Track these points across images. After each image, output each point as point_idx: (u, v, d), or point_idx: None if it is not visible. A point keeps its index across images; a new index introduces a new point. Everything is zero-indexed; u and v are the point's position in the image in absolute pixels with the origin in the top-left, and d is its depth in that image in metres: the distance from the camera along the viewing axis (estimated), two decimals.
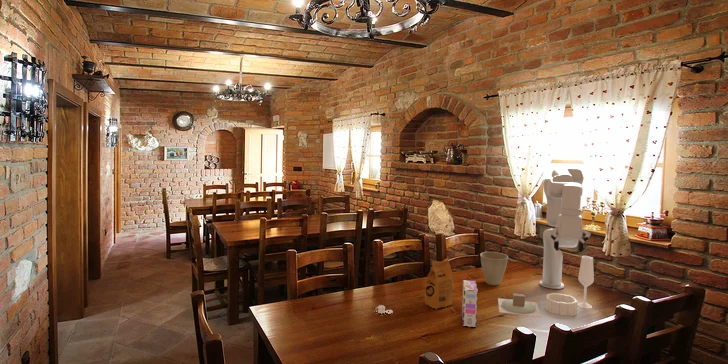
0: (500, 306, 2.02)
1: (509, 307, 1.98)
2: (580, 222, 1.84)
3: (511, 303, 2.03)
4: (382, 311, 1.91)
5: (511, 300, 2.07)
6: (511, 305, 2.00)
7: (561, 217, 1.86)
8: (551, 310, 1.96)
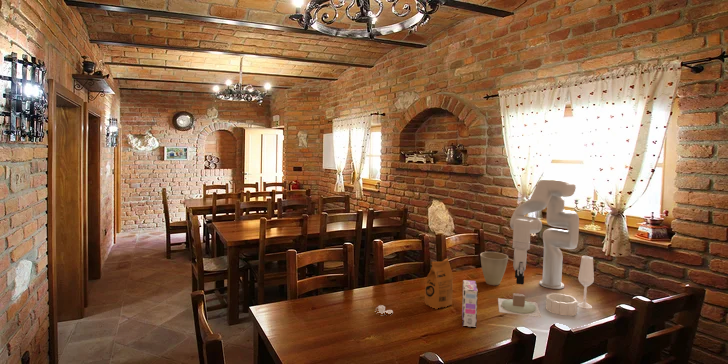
0: (500, 306, 2.02)
1: (509, 307, 1.98)
2: None
3: (511, 303, 2.03)
4: (382, 311, 1.91)
5: (511, 300, 2.07)
6: (511, 305, 2.00)
7: (525, 251, 1.94)
8: (551, 310, 1.96)
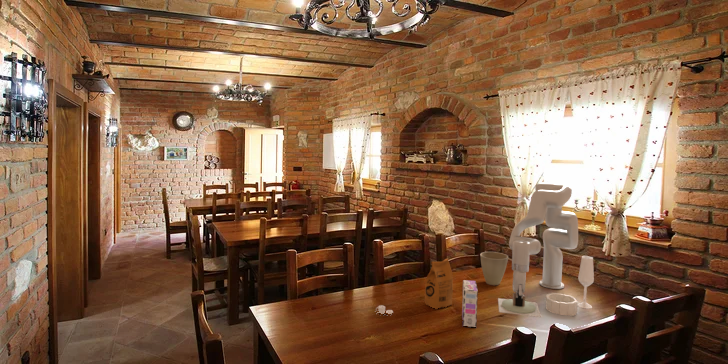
0: (500, 306, 2.02)
1: (509, 307, 1.98)
2: None
3: (511, 303, 2.03)
4: (382, 311, 1.91)
5: (511, 300, 2.07)
6: (511, 305, 2.01)
7: (524, 274, 1.95)
8: (551, 310, 1.96)
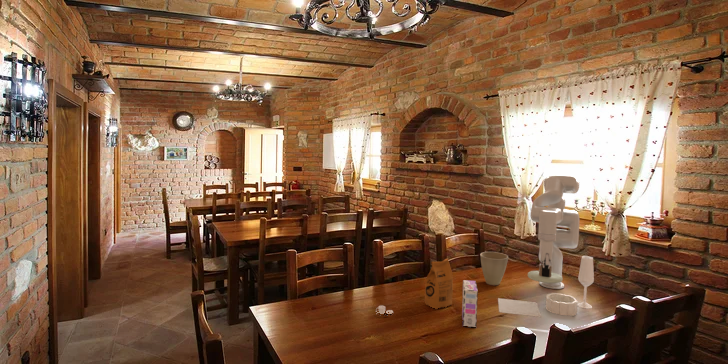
0: (500, 306, 2.02)
1: (535, 277, 1.96)
2: None
3: (537, 274, 2.00)
4: (382, 311, 1.91)
5: (537, 271, 2.04)
6: (537, 275, 1.98)
7: (551, 243, 1.92)
8: (551, 310, 1.96)
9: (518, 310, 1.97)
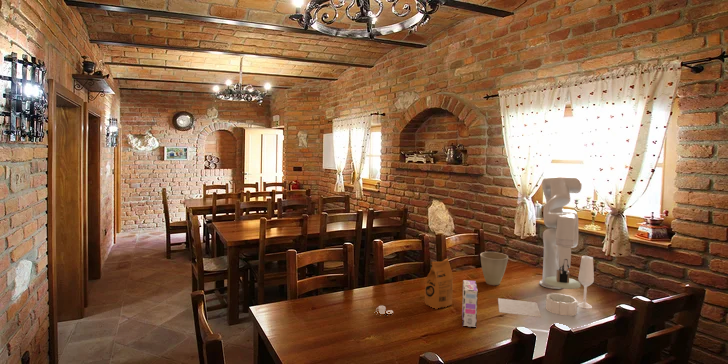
0: (500, 306, 2.02)
1: (554, 283, 1.94)
2: None
3: (555, 280, 1.99)
4: (383, 311, 1.91)
5: (554, 277, 2.03)
6: (555, 281, 1.97)
7: (570, 249, 1.92)
8: (551, 310, 1.96)
9: (518, 310, 1.97)
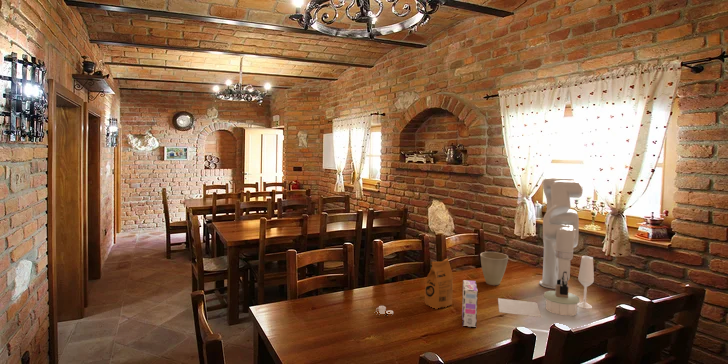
0: (500, 306, 2.02)
1: (553, 298, 1.95)
2: None
3: (554, 294, 2.00)
4: (383, 311, 1.90)
5: (553, 291, 2.04)
6: (554, 296, 1.98)
7: (569, 261, 1.92)
8: (551, 310, 1.96)
9: (518, 310, 1.97)
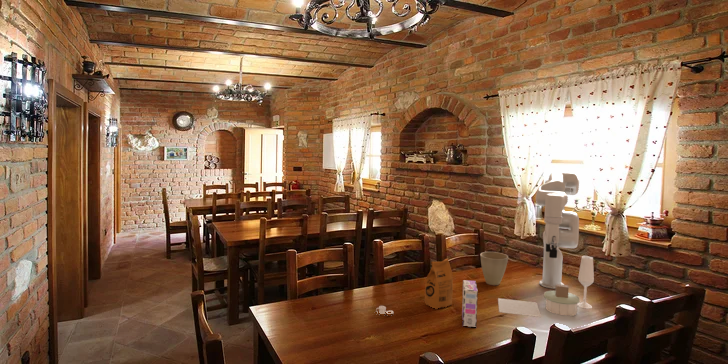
0: (500, 306, 2.02)
1: (553, 298, 1.95)
2: None
3: (554, 294, 2.00)
4: (383, 312, 1.90)
5: (553, 291, 2.04)
6: (554, 296, 1.98)
7: (558, 226, 1.98)
8: (551, 310, 1.96)
9: (518, 310, 1.97)
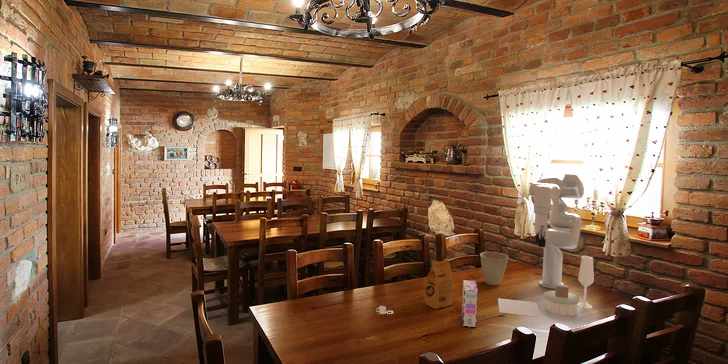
0: (500, 306, 2.02)
1: (553, 298, 1.95)
2: None
3: (554, 294, 2.00)
4: (383, 312, 1.90)
5: (553, 291, 2.04)
6: (554, 296, 1.98)
7: (546, 216, 2.03)
8: (551, 310, 1.96)
9: (518, 310, 1.97)
